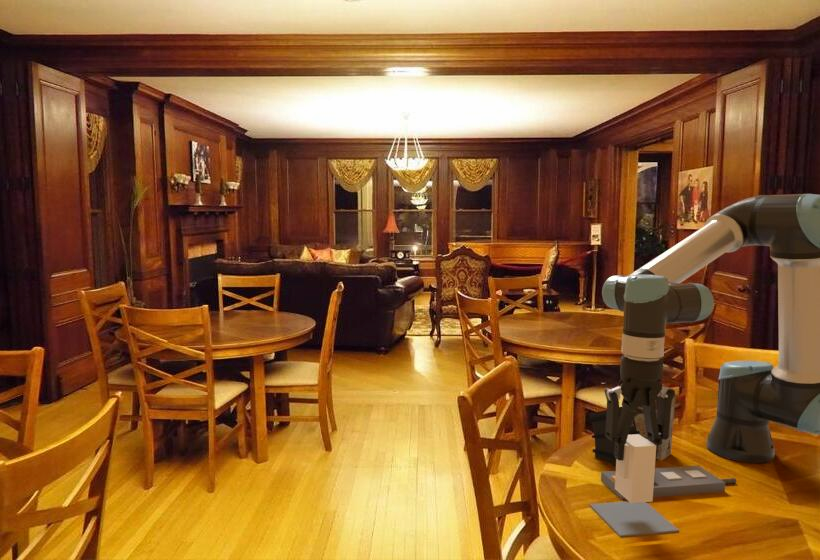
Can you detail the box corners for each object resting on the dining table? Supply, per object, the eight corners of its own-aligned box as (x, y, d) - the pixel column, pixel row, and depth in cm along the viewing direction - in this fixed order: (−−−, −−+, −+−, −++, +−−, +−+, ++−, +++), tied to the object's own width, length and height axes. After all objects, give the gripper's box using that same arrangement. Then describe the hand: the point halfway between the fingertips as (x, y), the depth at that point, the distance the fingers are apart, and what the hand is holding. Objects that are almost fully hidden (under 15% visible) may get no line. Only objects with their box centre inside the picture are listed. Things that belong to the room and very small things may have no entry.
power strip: (721, 474, 140) (722, 461, 140) (749, 491, 131) (750, 478, 131) (600, 482, 135) (601, 469, 135) (621, 501, 126) (622, 487, 126)
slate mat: (643, 503, 125) (643, 500, 125) (678, 534, 114) (679, 530, 114) (589, 507, 123) (589, 504, 123) (619, 539, 111) (620, 535, 111)
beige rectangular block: (635, 487, 121) (638, 434, 120) (652, 501, 115) (656, 445, 114) (614, 488, 120) (617, 435, 119) (630, 503, 114) (634, 446, 113)
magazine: (642, 473, 136) (621, 406, 140) (599, 477, 147) (581, 415, 151) (653, 469, 138) (632, 404, 142) (609, 474, 149) (591, 413, 153)
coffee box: (625, 451, 153) (628, 389, 151) (636, 445, 157) (640, 384, 155) (661, 462, 146) (666, 398, 144) (672, 455, 151) (676, 392, 149)
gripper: (609, 362, 109) (601, 486, 112) (696, 360, 113) (687, 480, 115) (589, 352, 117) (583, 469, 119) (672, 351, 120) (664, 464, 123)
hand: (634, 474), depth 117 cm, fingers closed on beige rectangular block, 4 cm apart
